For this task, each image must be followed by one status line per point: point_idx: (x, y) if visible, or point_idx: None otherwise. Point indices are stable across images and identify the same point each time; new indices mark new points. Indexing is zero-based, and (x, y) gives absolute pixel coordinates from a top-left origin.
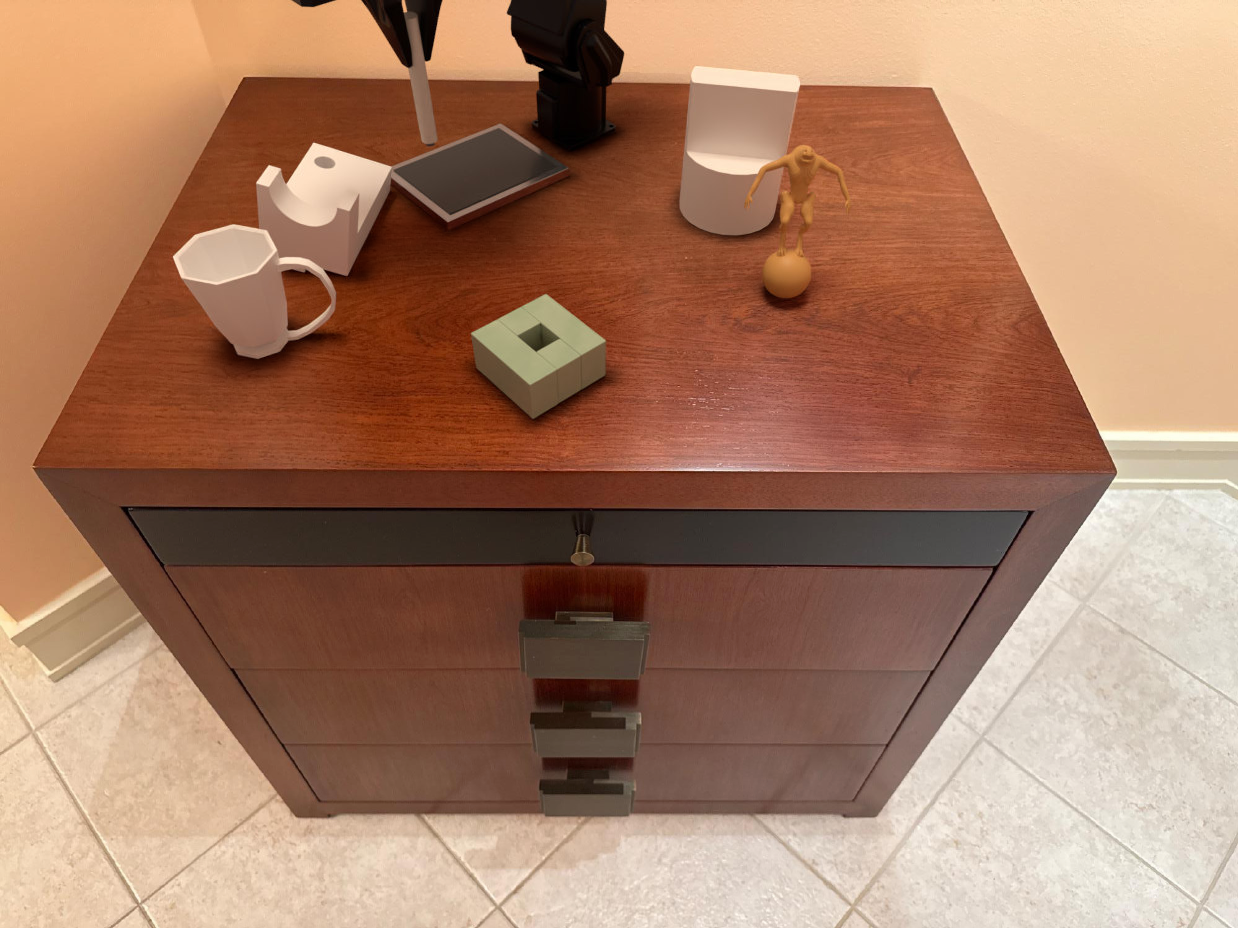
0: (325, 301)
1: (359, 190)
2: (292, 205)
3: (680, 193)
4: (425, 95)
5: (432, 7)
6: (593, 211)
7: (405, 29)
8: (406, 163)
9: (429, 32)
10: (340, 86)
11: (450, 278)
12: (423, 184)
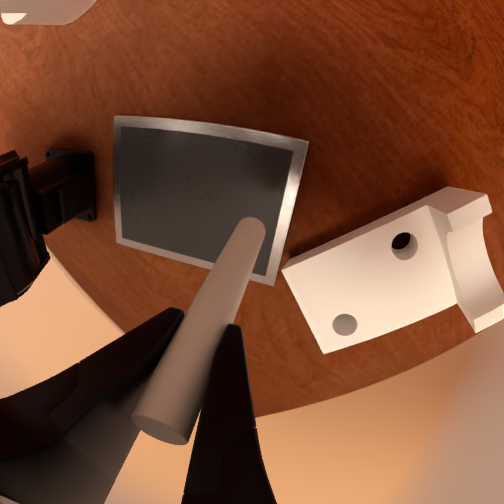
0: (484, 178)
1: (356, 263)
2: (473, 278)
3: (85, 1)
4: (231, 265)
5: (71, 399)
6: (152, 39)
7: (208, 413)
8: None
9: (130, 353)
10: None
11: (384, 73)
12: (265, 226)
